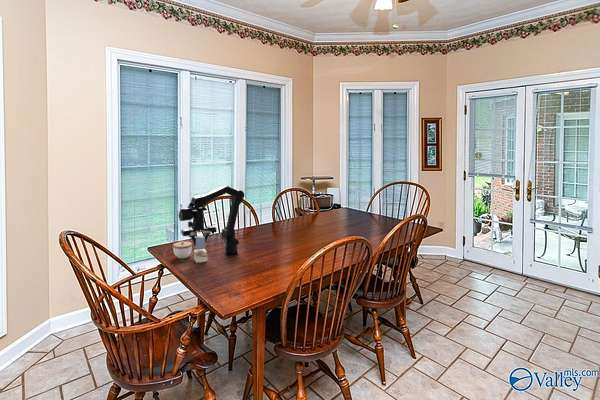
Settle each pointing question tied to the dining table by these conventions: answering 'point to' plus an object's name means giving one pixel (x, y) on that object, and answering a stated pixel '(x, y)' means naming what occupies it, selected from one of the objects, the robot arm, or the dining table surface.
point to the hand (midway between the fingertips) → (199, 245)
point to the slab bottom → (200, 259)
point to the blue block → (199, 242)
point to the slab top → (200, 253)
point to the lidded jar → (182, 249)
